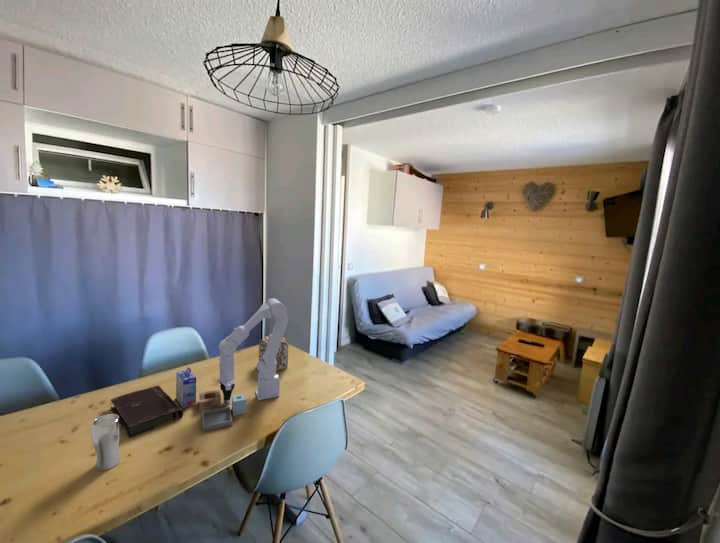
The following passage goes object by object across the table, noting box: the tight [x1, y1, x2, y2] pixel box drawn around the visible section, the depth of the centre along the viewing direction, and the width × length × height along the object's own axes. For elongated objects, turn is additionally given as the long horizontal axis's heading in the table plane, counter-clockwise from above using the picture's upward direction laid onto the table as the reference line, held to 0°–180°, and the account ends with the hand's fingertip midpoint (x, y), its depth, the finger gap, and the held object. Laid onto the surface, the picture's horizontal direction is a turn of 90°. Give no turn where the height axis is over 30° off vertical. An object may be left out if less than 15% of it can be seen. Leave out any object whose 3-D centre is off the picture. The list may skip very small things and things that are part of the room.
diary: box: [110, 385, 184, 439], centre depth 127 cm, size 19×25×5 cm
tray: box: [201, 406, 233, 433], centre depth 125 cm, size 10×10×2 cm
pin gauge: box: [222, 394, 231, 406], centre depth 137 cm, size 3×3×8 cm
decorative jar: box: [258, 333, 289, 372], centre depth 173 cm, size 12×12×18 cm
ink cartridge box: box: [175, 366, 197, 409], centre depth 136 cm, size 10×6×14 cm, turn 45°
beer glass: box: [91, 413, 121, 472], centre depth 100 cm, size 7×7×15 cm
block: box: [231, 393, 247, 416], centre depth 133 cm, size 5×5×6 cm
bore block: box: [198, 389, 222, 413], centre depth 136 cm, size 8×8×4 cm
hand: (226, 397), depth 137 cm, fingers closed on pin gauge, 3 cm apart
